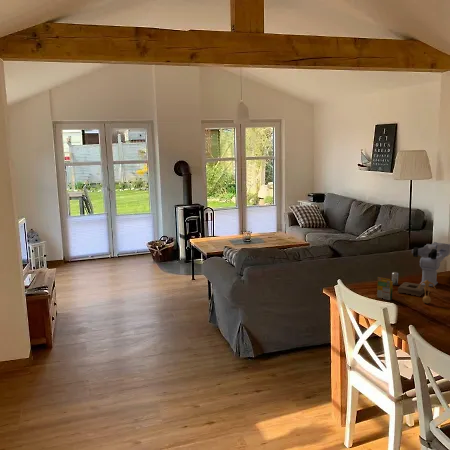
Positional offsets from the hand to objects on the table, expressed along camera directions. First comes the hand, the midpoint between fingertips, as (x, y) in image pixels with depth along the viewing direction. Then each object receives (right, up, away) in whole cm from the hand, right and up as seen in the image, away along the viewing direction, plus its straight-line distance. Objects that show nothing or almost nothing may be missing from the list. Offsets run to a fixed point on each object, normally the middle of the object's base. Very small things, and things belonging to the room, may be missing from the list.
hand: (421, 254), depth 255 cm
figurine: (-2, -24, -11) cm, 27 cm away
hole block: (-3, -21, +6) cm, 22 cm away
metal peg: (-7, -19, +20) cm, 28 cm away
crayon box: (-21, -23, -3) cm, 32 cm away
